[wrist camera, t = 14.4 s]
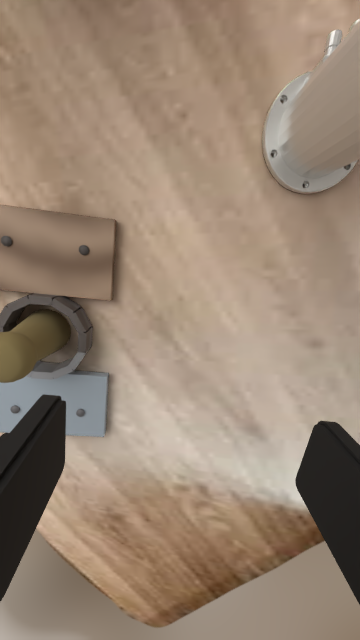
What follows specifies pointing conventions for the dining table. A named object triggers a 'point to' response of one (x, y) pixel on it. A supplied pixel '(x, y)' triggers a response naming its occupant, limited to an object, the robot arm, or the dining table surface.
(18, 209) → the leaf
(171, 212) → the dining table surface
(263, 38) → the dining table surface
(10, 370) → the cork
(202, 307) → the dining table surface
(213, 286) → the dining table surface
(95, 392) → the leaf
